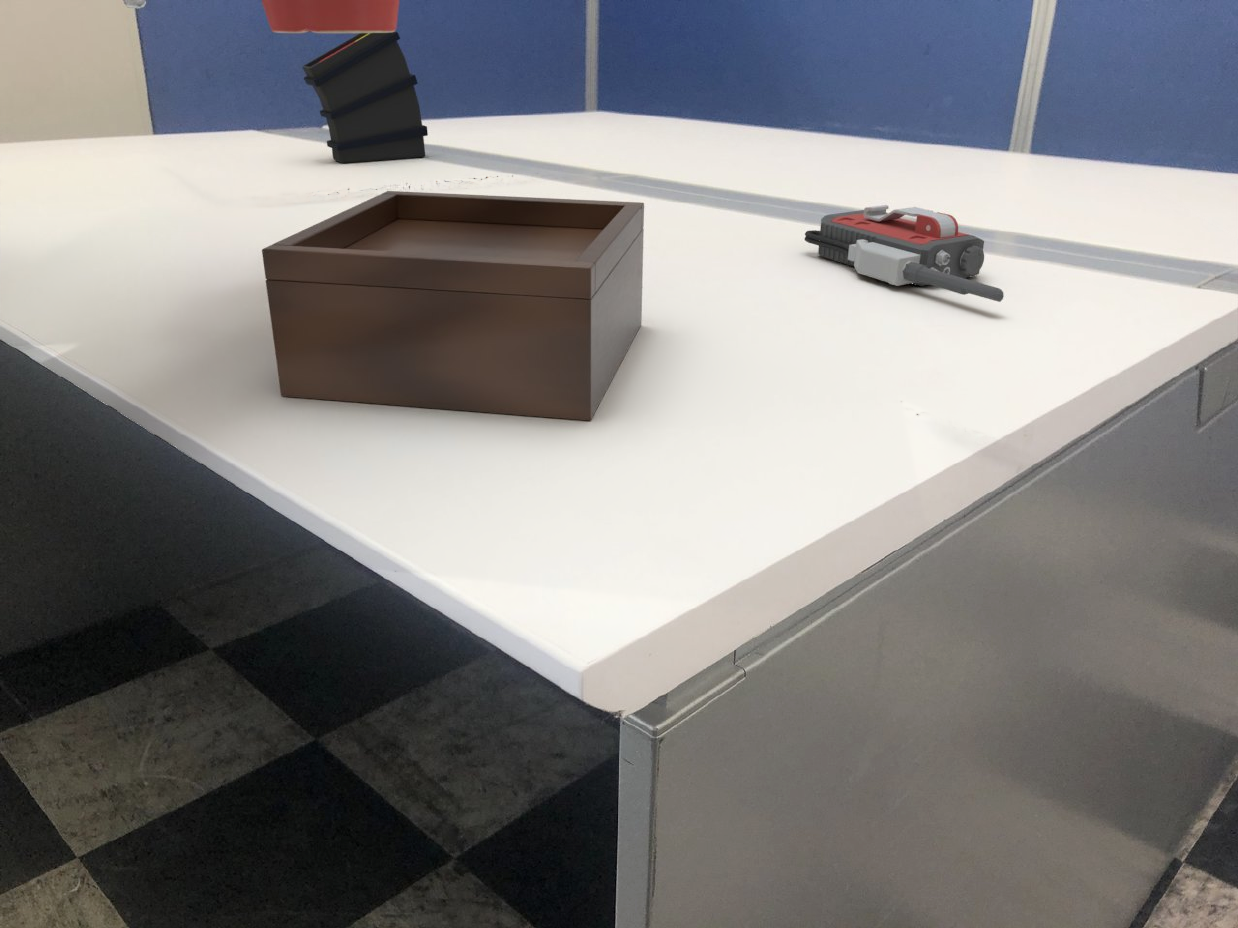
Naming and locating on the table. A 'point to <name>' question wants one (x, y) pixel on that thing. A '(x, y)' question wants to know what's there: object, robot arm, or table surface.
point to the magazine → (368, 99)
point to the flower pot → (332, 16)
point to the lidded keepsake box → (459, 302)
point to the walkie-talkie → (905, 248)
